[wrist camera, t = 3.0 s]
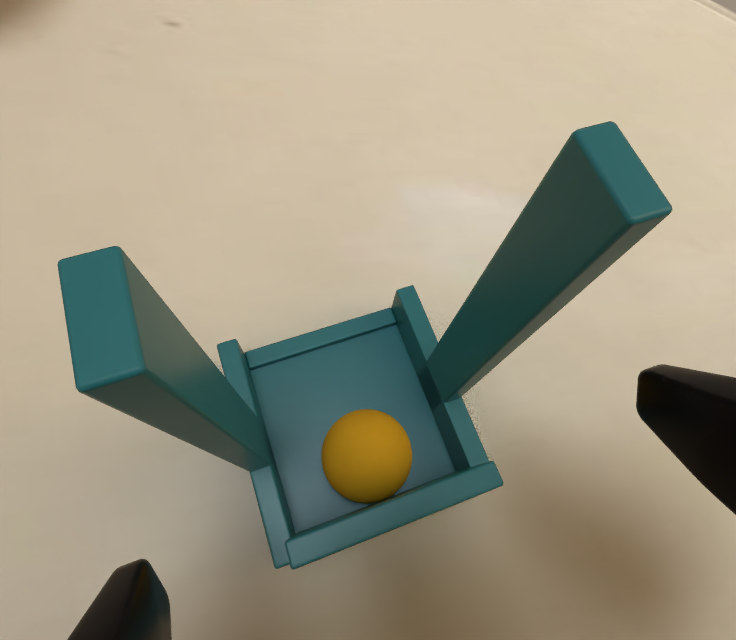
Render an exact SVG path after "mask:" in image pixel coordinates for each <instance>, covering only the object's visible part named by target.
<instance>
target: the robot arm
mask: <svg viewBox="0 0 736 640" xmlns="http://www.w3.org/2000/svg"><path fill="white" fill-rule="evenodd" d="M636 408H637V412H638V414H639V416H640V417H641V419H642V420H643V421H644V422H645V423H646V424H647V425H648V427H649V428H650V429H651V430H652V431H653V432H654V433H655V434H656V435H657V436H658V437H659V438H660V440H661V441H662V442H663V443H664V444H665V445H666V446H667V447H668V448H669V449H670V450H671V451H672V452H673V454H674V455H675V456H676V457H677V458H678V459H679V460H680V461H681V462H682V463H683V464H684V465H685V467H686V468H687V469H688V470H689V471H690V472H691V473H692V474H693V475H694V476H695V477H696V478H697V479H698V480H699V481H700V482H701V483H702V484H703V485H704V486H705V487H706V488H707V489H708V490H709V491H710V492H711V493H712V494H713V495H714V496H715V497H717V498H718V499H719V500H720V501H721V502H722V503H723V504H724V505H725V506H726V507H728V508H729V509H730V510H731V511H732V512H733V513H734V514H735V515H736V378H734V377H729V376H724V375H718V374H713V373H707V372H702V371H696V370H691V369H686V368H680V367H675V366H669V365H656V366H654V367H651V368H648V369H646V370H643V371H642V372H641V373H640V374H639V376H638V386H637V401H636ZM67 640H172V638H171V617H170V604H169V599H168V595H167V592H166V590H165V588H164V587H163V585H162V583H161V582H160V580H159V578H158V576H157V575H156V573H155V571H154V570H153V568H152V566H151V564H150V563H149V562H148V561H147V560H145V559H139V560H137V561H134V562H131V563H129V564H126V565H123V566H121V567H119V568H117V569H116V570H115V571H114V572H113V574H112V575H111V576H110V578H109V579H108V581H107V582H106V584H105V585H104V587H103V588H102V590H101V591H100V592H99V594H98V595H97V597H96V598H95V600H94V601H93V603H92V604H91V606H90V607H89V609H88V610H87V612H86V613H85V614H84V616H83V617H82V619H81V620H80V622H79V623H78V625H77V626H76V628H75V629H74V631H73V632H72V633H71V635H70V636H69V638H68V639H67Z"/></svg>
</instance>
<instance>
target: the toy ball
mask: <svg viewBox="0 0 736 640" xmlns="http://www.w3.org/2000/svg"><path fill="white" fill-rule="evenodd" d="M321 457H322V466H323V470H324V473H325V476H326V478H327V480H328V482H329V483H330V485H331V486H332V487H333V488H334V489H335V490H336V491H337V492H338V493H339V494H340V495H342V496H343V497H345V498H347V499H349V500H351V501H354V502H358V503H367V504H369V503H376V502H380V501H383V500H385V499H387V498H389V497H391V496H392V495H393V494H395V493H396V492H397V491H398V490H399V489H400V488H401V487H402V485H403V484H404V483H405V481H406V479H407V477H408V475H409V472H410V469H411V464H412V448H411V443H410V440H409V438H408V435H407V433H406V431H405V430H404V428H403V427H402V426H401V425H400V423H399V422H398V421H396V420H395V419H394V418H393V417H391V416H390V415H388V414H386V413H384V412H381V411H378V410H373V409H361V410H356V411H353V412H350V413H348V414H346V415H344V416H343V417H341V418H340V419H338V420H337V421H336V422H335V423H334V424H333V426H332V427H331V428H330V430H329V431H328V433H327V435H326V437H325V439H324V442H323V447H322V455H321Z"/></svg>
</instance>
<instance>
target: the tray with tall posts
mask: <svg viewBox="0 0 736 640" xmlns="http://www.w3.org/2000/svg"><path fill="white" fill-rule="evenodd" d="M671 211H672V206H671V204H670V203H669V201H668V200H667V198H666V197H665V196H664V194H663V193H662V191H661V190H660V188H659V187H658V185H657V184H656V182H655V181H654V179H653V178H652V176H651V175H650V173H649V172H648V170H647V169H646V168H645V166H644V165H643V163H642V162H641V160H640V159H639V157H638V156H637V154H636V153H635V151H634V150H633V148H632V147H631V145H630V144H629V143H628V141H627V140H626V138H625V137H624V135H623V134H622V132H621V131H620V129H619V128H618V126H617V125H616V124H615V123H614V122H611V121H609V122H605V123H601V124H597V125H593V126H589V127H585V128H582V129H578V130H576V131H574V132H573V133H572V134H571V136H570V137H569V139H568V140H567V142H566V143H565V145H564V147H563V148H562V150H561V151H560V153H559V154H558V156H557V158H556V159H555V161H554V162H553V164H552V165H551V167H550V169H549V170H548V172H547V173H546V175H545V176H544V178H543V180H542V181H541V183H540V184H539V186H538V187H537V189H536V191H535V192H534V194H533V195H532V197H531V198H530V200H529V202H528V203H527V205H526V206H525V208H524V209H523V211H522V212H521V214H520V216H519V217H518V219H517V220H516V222H515V223H514V225H513V227H512V228H511V230H510V231H509V233H508V234H507V236H506V238H505V239H504V241H503V242H502V244H501V245H500V247H499V249H498V250H497V252H496V253H495V255H494V256H493V258H492V260H491V261H490V263H489V264H488V266H487V267H486V269H485V271H484V272H483V274H482V275H481V277H480V278H479V280H478V281H477V283H476V285H475V286H474V288H473V289H472V291H471V292H470V294H469V296H468V297H467V299H466V300H465V302H464V303H463V305H462V307H461V308H460V310H459V311H458V313H457V314H456V316H455V318H454V319H453V321H452V322H451V324H450V325H449V327H448V329H447V330H446V332H445V333H444V335H443V336H442V338H441V340H440V341H439V343H438V341H437V339H436V337H435V334H434V332H433V330H432V327H431V325H430V323H429V320H428V318H427V316H426V313H425V311H424V309H423V306H422V304H421V302H420V299H419V297H418V295H417V292H416V290H415V288H414V286H413V285H412V286H408V287H405V288H402V289H398V290H397V291H396V294H395V297H394V301H393V304H392V308H387V309H384V310H381V311H377V312H374V313H371V314H368V315H364V316H361V317H358V318H355V319H351V320H348V321H345V322H342V323H338V324H335V325H332V326H329V327H325V328H322V329H319V330H316V331H313V332H309V333H306V334H303V335H300V336H296V337H293V338H290V339H287V340H283V341H280V342H277V343H274V344H270V345H267V346H264V347H261V348H257V349H254V350H251V351H248V352H245V354H244V352H243V350H242V349H241V347H240V345H239V343H238V341H237V340H236V339H233V340H230V341H226V342H223V343H220V344H218V345H217V349H218V352H219V356H220V360H221V364H222V368H223V372H224V375H225V377H224V376H223V374H222V373H221V372H220V371H219V369H218V368H217V367H216V366H215V364H214V363H213V362H212V361H211V359H210V358H209V357H208V356H207V354H206V353H205V352H204V351H203V349H202V348H201V347H200V346H199V345H198V343H197V342H196V341H195V340H194V338H193V337H192V336H191V335H190V333H189V332H188V331H187V330H186V328H185V327H184V326H183V325H182V323H181V322H180V321H179V320H178V318H177V317H176V316H175V315H174V313H173V312H172V311H171V310H170V309H169V307H168V306H167V305H166V304H165V302H164V301H163V300H162V299H161V297H160V296H159V295H158V294H157V292H156V291H155V290H154V289H153V287H152V286H151V285H150V284H149V282H148V281H147V280H146V279H145V278H144V276H143V275H142V274H141V273H140V271H139V270H138V269H137V268H136V266H135V265H134V264H133V263H132V261H131V260H130V259H129V258H128V256H127V255H126V254H125V253H124V251H123V250H122V249H121V248H120V247H118V246H112V247H108V248H104V249H100V250H96V251H92V252H88V253H84V254H81V255H77V256H73V257H69V258H65V259H61V260H60V261H58V270H59V277H60V284H61V290H62V297H63V304H64V310H65V317H66V324H67V330H68V337H69V344H70V350H71V357H72V364H73V370H74V377H75V384H76V388H77V390H78V391H79V392H80V393H82V394H85V395H87V396H89V397H91V398H93V399H95V400H97V401H100V402H102V403H104V404H106V405H108V406H110V407H112V408H115V409H117V410H119V411H121V412H123V413H125V414H127V415H130V416H132V417H134V418H136V419H138V420H140V421H142V422H145V423H147V424H149V425H151V426H153V427H155V428H157V429H160V430H162V431H164V432H166V433H168V434H170V435H172V436H175V437H177V438H179V439H181V440H183V441H185V442H187V443H190V444H192V445H194V446H196V447H198V448H200V449H202V450H205V451H207V452H209V453H211V454H213V455H215V456H217V457H220V458H222V459H224V460H226V461H228V462H230V463H232V464H235V465H237V466H239V467H241V468H243V469H245V470H247V471H250V475H251V479H252V483H253V486H254V490H255V494H256V498H257V502H258V506H259V509H260V513H261V517H262V521H263V525H264V528H265V532H266V536H267V540H268V544H269V548H270V551H271V555H272V559H273V563H274V567H275V568H276V569H278V568H281V567H283V566H286V565H288V564H290V566H291V568H292V569H297V568H299V567H301V566H304V565H306V564H309V563H311V562H314V561H316V560H319V559H321V558H324V557H326V556H329V555H331V554H334V553H336V552H339V551H341V550H344V549H346V548H349V547H351V546H354V545H356V544H359V543H361V542H364V541H366V540H369V539H371V538H374V537H376V536H379V535H381V534H384V533H386V532H389V531H391V530H394V529H396V528H398V527H401V526H403V525H406V524H408V523H411V522H413V521H416V520H418V519H421V518H423V517H426V516H428V515H431V514H433V513H436V512H438V511H441V510H443V509H446V508H448V507H451V506H453V505H456V504H458V503H461V502H463V501H466V500H468V499H471V498H473V497H476V496H478V495H481V494H483V493H486V492H488V491H490V490H493V489H495V488H498V487H500V486H502V485H503V481H502V479H501V476H500V474H499V472H498V469H497V467H496V465H495V462H494V461H489V460H488V457H487V455H486V453H485V450H484V448H483V446H482V443H481V441H480V439H479V436H478V434H477V432H476V429H475V427H474V425H473V422H472V420H471V418H470V415H469V413H468V411H467V409H466V406H465V404H464V402H463V399H462V397H461V396H462V395H464V394H465V393H466V392H467V391H468V390H469V389H470V388H471V387H473V386H474V385H475V384H476V383H477V382H478V381H479V380H481V379H482V378H483V377H484V376H485V375H486V374H487V373H489V372H490V371H491V370H492V369H493V368H494V367H495V366H497V365H498V364H499V363H500V362H501V361H502V360H503V359H505V358H506V357H507V356H508V355H509V354H510V353H511V352H513V351H514V350H515V349H516V348H517V347H518V346H519V345H521V344H522V343H523V342H524V341H525V340H526V339H527V338H529V337H530V336H531V335H532V334H533V333H534V332H535V331H537V330H538V329H539V328H540V327H541V326H542V325H543V324H544V323H546V322H547V321H548V320H549V319H550V318H551V317H552V316H554V315H555V314H556V313H557V312H558V311H559V310H560V309H562V308H563V307H564V306H565V305H566V304H567V303H568V302H570V301H571V300H572V299H573V298H574V297H575V296H576V295H578V294H579V293H580V292H581V291H582V290H583V289H584V288H586V287H587V286H588V285H589V284H590V283H591V282H592V281H594V280H595V279H596V278H597V277H598V276H599V275H600V274H602V273H603V272H604V271H605V270H606V269H607V268H608V267H610V266H611V265H612V264H613V263H614V262H615V261H616V260H617V259H619V258H620V257H621V256H622V255H623V254H624V253H625V252H627V251H628V250H629V249H630V248H631V247H632V246H633V245H635V244H636V243H637V242H638V241H639V240H640V239H641V238H643V237H644V236H645V235H646V234H647V233H648V232H649V231H651V230H652V229H653V228H654V227H655V226H656V225H657V224H659V223H660V222H661V221H662V220H663V219H664V218H665V217H667V216H668V215H669V214H670V213H671ZM361 409H373V410H378V411H381V412H384V413H386V414H388V415H390V416H391V417H393V418H394V419H395V420H396V421H398V422H399V423H400V425H401V426H402V427H403V428H404V430H405V431H406V433H407V435H408V438H409V440H410V443H411V448H412V464H411V469H410V472H409V475H408V477H407V479H406V481H405V483H404V484H403V485H402V487H401V488H400V489H399V490H398V491H397V492H396V493H395V494H393V495H392V496H391V497H389V498H387V499H385V500H383V501H380V502H376V503H369V504H367V503H358V502H354V501H351V500H349V499H347V498H345V497H343V496H342V495H340V494H339V493H338V492H337V491H336V490H335V489H334V488H333V487H332V486H331V485H330V483H329V482H328V480H327V478H326V476H325V473H324V470H323V466H322V457H321V455H322V447H323V442H324V439H325V437H326V435H327V433H328V431H329V430H330V428H331V427H332V426H333V424H334V423H335V422H336V421H337V420H338V419H340V418H341V417H343V416H344V415H346V414H348V413H350V412H353V411H356V410H361Z"/></svg>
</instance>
